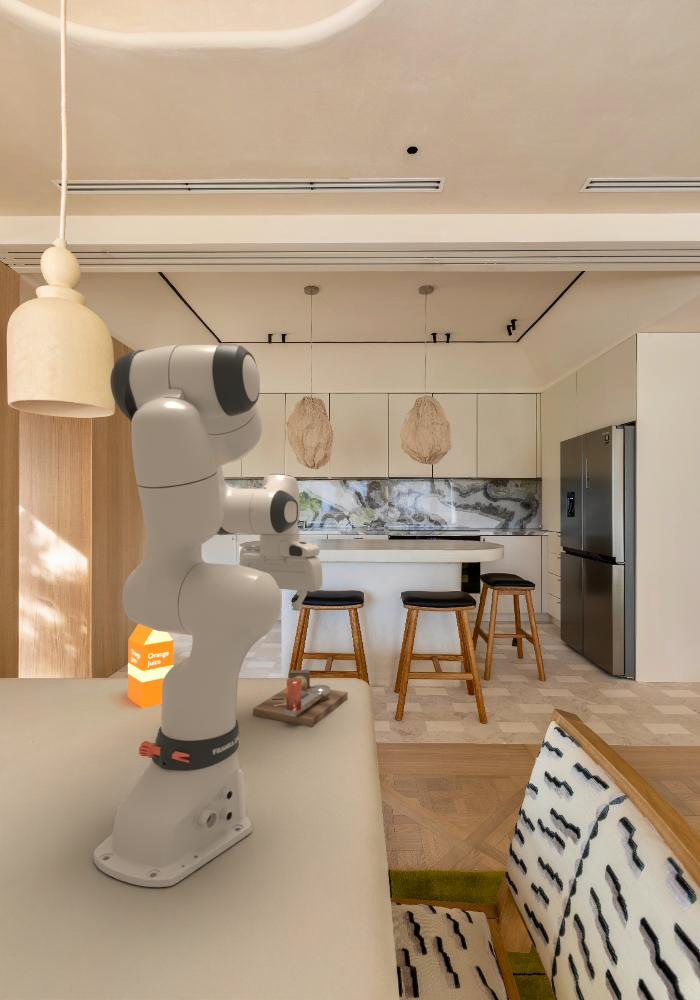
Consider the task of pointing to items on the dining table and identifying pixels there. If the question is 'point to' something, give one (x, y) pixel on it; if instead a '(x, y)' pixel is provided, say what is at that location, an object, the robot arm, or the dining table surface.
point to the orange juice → (148, 664)
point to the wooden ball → (303, 682)
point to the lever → (302, 696)
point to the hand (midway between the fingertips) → (278, 608)
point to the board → (309, 716)
